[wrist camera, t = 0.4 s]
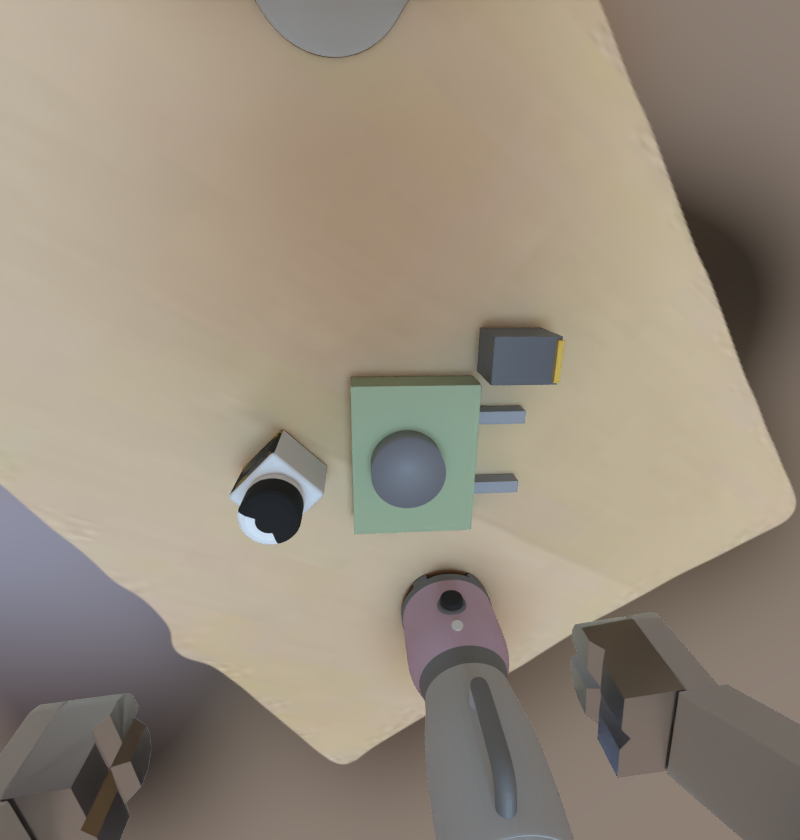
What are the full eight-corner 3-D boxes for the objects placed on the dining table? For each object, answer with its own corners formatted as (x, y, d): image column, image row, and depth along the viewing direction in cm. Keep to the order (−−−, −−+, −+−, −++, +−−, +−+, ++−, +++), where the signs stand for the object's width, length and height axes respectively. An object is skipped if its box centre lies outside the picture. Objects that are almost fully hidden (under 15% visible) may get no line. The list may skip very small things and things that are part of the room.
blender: (487, 633, 67) (593, 940, 38) (403, 644, 67) (443, 965, 37) (487, 541, 62) (610, 813, 32) (395, 551, 61) (435, 840, 31)
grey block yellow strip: (480, 327, 52) (496, 338, 46) (540, 327, 53) (565, 337, 47) (476, 371, 54) (492, 386, 48) (535, 370, 55) (558, 385, 48)
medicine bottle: (282, 427, 54) (263, 474, 43) (328, 466, 56) (321, 520, 45) (242, 468, 55) (213, 524, 44) (288, 504, 58) (272, 566, 46)
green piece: (350, 377, 53) (350, 395, 46) (523, 375, 55) (546, 392, 48) (354, 516, 59) (354, 549, 52) (509, 510, 61) (527, 541, 54)
